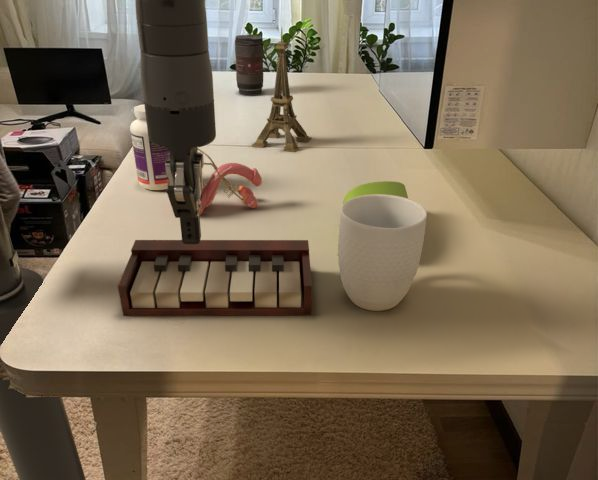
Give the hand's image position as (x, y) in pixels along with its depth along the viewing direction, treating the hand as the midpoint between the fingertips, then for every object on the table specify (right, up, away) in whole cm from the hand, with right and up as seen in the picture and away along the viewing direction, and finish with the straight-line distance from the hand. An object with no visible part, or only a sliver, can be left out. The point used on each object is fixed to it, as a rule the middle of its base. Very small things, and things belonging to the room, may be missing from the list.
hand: (191, 241), depth 75 cm
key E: (-1, -5, +6) cm, 8 cm away
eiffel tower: (+9, +35, +64) cm, 73 cm away
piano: (+2, -6, +9) cm, 11 cm away
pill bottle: (-14, +18, +42) cm, 47 cm away
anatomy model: (-1, +12, +33) cm, 35 cm away
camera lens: (-1, +62, +102) cm, 119 cm away
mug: (+24, -6, +9) cm, 27 cm away
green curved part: (+27, +5, +24) cm, 37 cm away
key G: (+6, -5, +7) cm, 10 cm away
